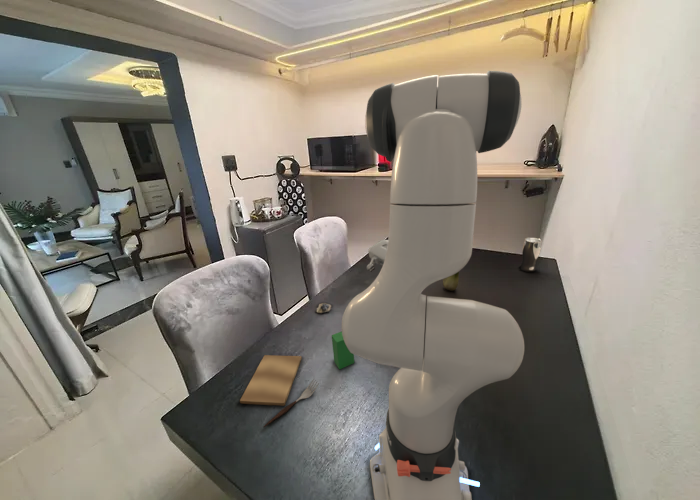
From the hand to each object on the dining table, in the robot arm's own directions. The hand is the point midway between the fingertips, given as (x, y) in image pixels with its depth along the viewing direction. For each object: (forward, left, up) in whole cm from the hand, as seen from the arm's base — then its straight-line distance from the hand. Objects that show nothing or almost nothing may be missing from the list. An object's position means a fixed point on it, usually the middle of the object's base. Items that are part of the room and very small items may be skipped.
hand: (379, 276), depth 74 cm
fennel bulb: (+20, -1, -22) cm, 30 cm away
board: (-14, +31, -26) cm, 42 cm away
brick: (-7, +11, -26) cm, 29 cm away
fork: (-22, +23, -26) cm, 40 cm away
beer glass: (+55, -70, -25) cm, 93 cm away
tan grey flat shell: (+21, +23, -26) cm, 41 cm away
